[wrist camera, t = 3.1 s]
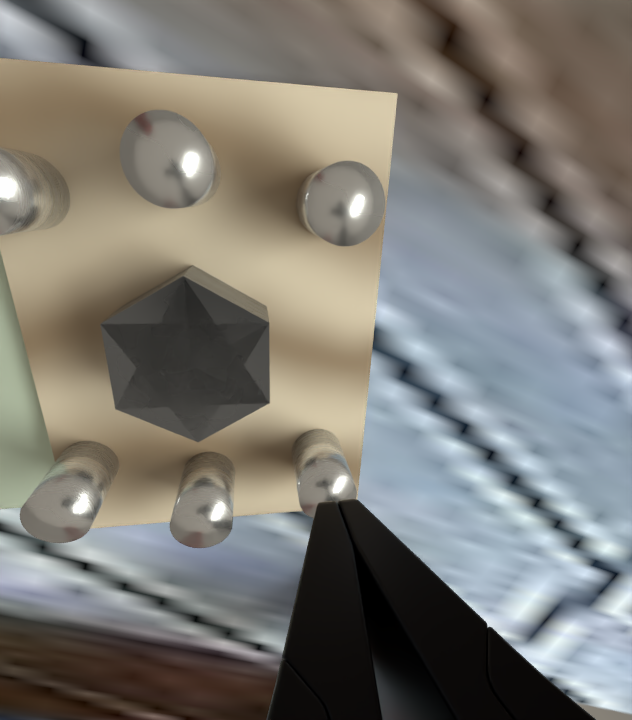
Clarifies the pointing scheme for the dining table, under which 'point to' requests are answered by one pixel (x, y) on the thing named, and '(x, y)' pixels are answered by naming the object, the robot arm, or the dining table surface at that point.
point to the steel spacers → (173, 190)
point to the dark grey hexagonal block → (189, 355)
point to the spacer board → (203, 250)
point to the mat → (18, 411)
